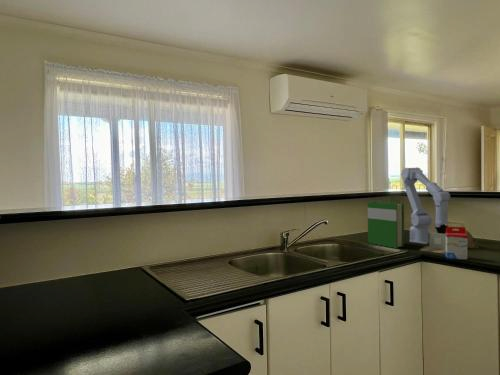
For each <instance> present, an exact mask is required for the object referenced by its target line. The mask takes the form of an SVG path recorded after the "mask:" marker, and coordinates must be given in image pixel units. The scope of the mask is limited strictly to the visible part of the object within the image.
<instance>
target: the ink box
mask: <svg viewBox="0 0 500 375" xmlns="http://www.w3.org/2000/svg"><path fill="white" fill-rule="evenodd" d="M465 230H466V227H465V226H448V227H446V233H445V234H446V253H445V257H446V259H451V260H468V248H467V243H468V235H467V234H465Z"/></svg>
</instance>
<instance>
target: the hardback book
mask: <svg viewBox="0 0 500 375" xmlns="http://www.w3.org/2000/svg"><path fill="white" fill-rule="evenodd" d="M368 242H369V243H373V244H378V245H383V246H388V247H393V248H392V249H396V248H397V249H398V248H399V247H402V248H403V247H405V203H403V202H390V201H389V202H387V201H369V202H368V201H367V243H368Z"/></svg>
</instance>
